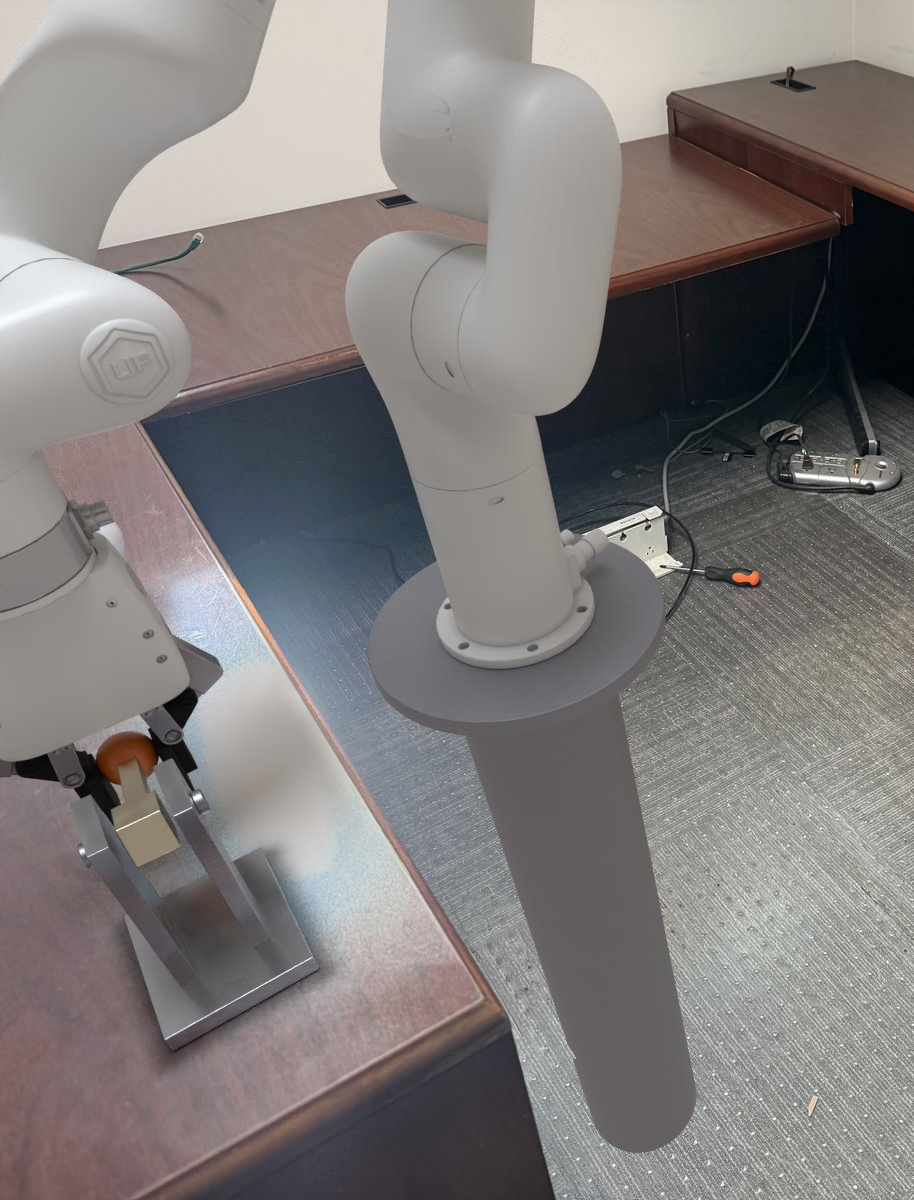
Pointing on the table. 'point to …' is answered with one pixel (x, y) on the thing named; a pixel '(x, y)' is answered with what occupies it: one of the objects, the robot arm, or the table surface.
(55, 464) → the table surface
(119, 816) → the lever
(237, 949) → the bracket
